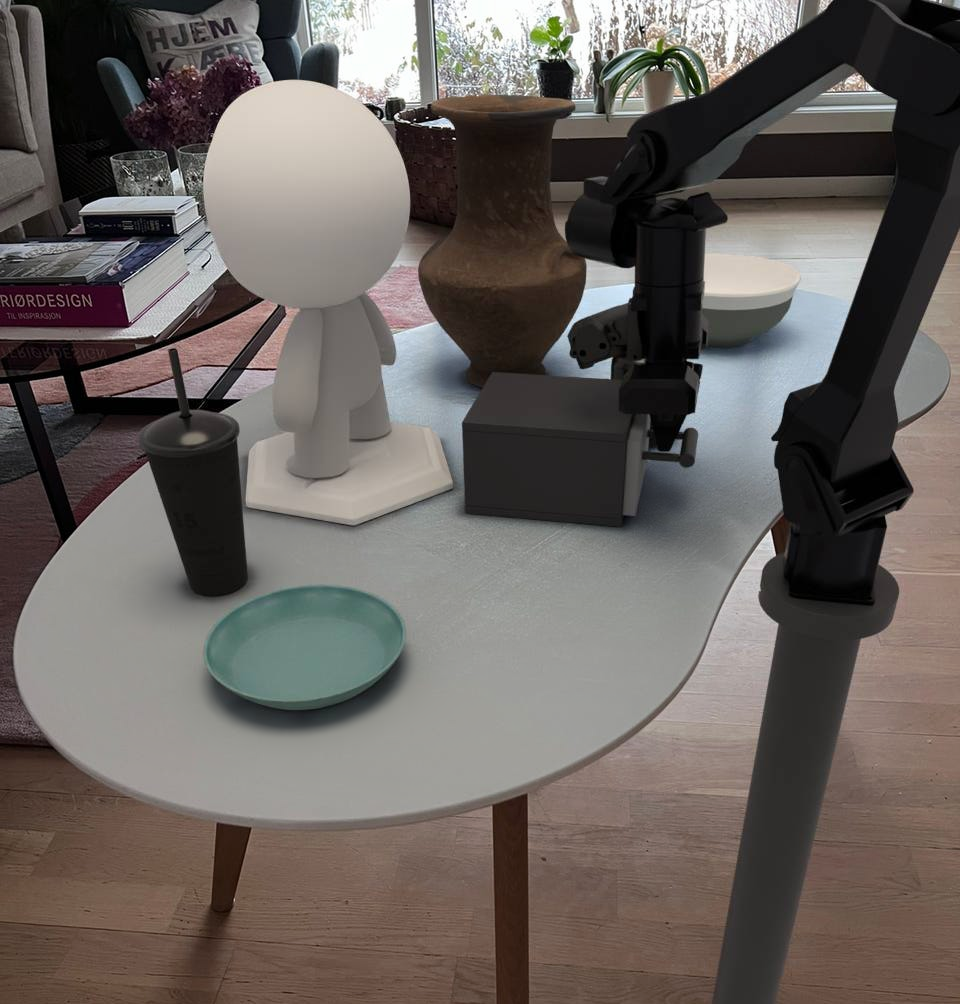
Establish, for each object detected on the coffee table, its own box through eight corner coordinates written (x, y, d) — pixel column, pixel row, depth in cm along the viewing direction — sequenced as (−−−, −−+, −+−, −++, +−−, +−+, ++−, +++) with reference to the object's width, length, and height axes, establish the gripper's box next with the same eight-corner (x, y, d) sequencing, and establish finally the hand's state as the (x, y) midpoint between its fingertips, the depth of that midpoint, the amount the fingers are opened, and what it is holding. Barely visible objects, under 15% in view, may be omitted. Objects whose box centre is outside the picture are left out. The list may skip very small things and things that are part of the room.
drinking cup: (186, 558, 90) (137, 333, 78) (272, 558, 90) (235, 332, 78) (161, 605, 84) (104, 368, 72) (253, 605, 83) (211, 367, 72)
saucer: (188, 731, 70) (181, 701, 69) (230, 613, 82) (225, 585, 81) (402, 727, 70) (399, 697, 69) (413, 609, 82) (411, 581, 81)
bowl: (632, 318, 142) (636, 257, 137) (763, 310, 143) (771, 249, 138) (667, 365, 126) (673, 298, 122) (813, 356, 128) (825, 289, 123)
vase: (615, 381, 122) (631, 100, 105) (482, 420, 113) (475, 121, 96) (520, 339, 135) (520, 84, 118) (395, 371, 127) (375, 101, 109)
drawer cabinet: (635, 467, 103) (641, 380, 98) (620, 527, 93) (626, 433, 88) (493, 457, 106) (492, 371, 100) (464, 513, 96) (461, 422, 90)
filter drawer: (695, 466, 101) (702, 396, 96) (687, 521, 92) (696, 445, 87) (514, 453, 104) (513, 384, 100) (490, 503, 95) (488, 430, 91)
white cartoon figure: (297, 421, 114) (250, 65, 94) (489, 448, 107) (481, 69, 87) (195, 499, 99) (113, 94, 79) (410, 536, 92) (380, 101, 72)
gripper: (590, 250, 95) (592, 409, 104) (554, 312, 80) (560, 492, 89) (712, 247, 92) (704, 411, 101) (699, 312, 77) (690, 497, 86)
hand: (664, 450), depth 94 cm, fingers closed, pressing on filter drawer
